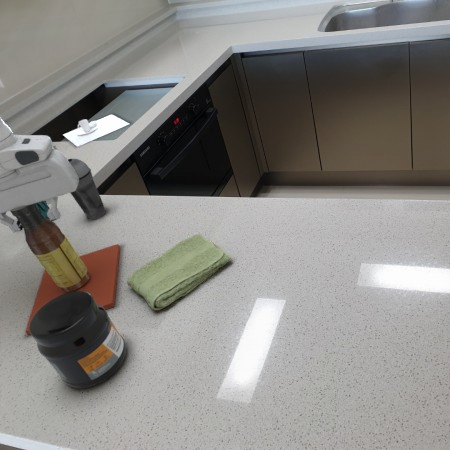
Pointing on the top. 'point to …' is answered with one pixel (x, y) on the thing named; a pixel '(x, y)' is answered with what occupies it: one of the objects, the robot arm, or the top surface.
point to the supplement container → (78, 339)
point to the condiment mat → (97, 284)
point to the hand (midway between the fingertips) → (37, 224)
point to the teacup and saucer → (94, 129)
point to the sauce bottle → (52, 249)
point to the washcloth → (177, 271)
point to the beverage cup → (86, 191)
